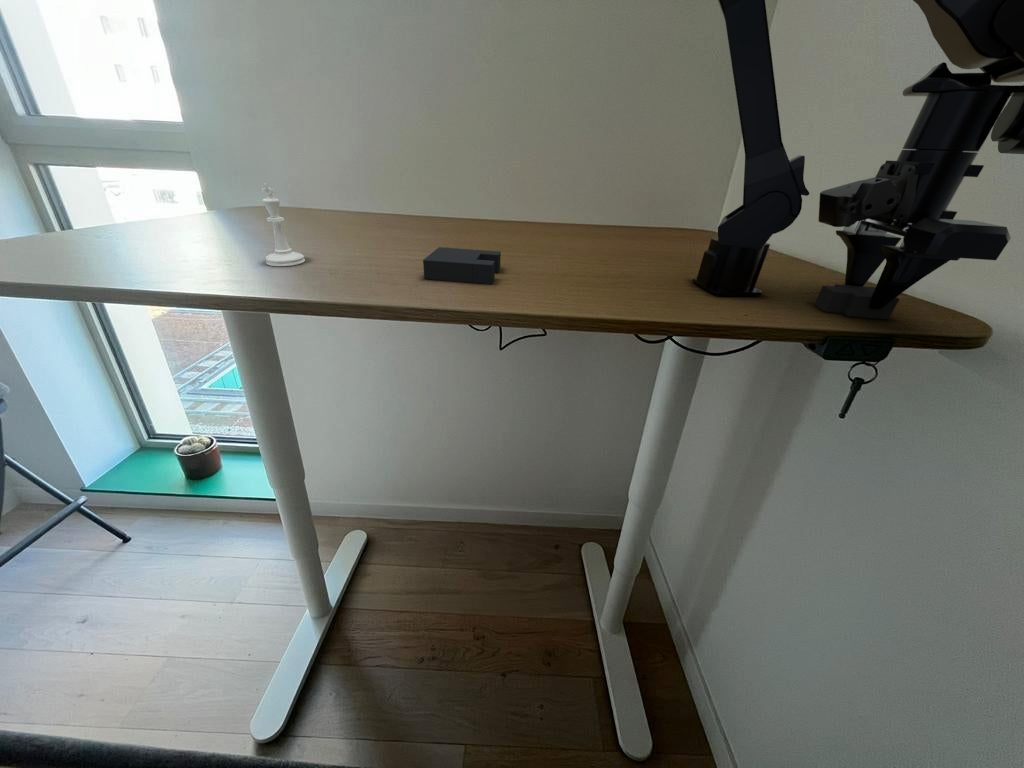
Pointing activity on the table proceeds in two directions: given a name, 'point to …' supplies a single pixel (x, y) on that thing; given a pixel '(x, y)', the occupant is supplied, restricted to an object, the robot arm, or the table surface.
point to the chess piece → (279, 234)
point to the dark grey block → (852, 301)
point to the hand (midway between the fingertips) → (860, 301)
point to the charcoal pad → (462, 265)
